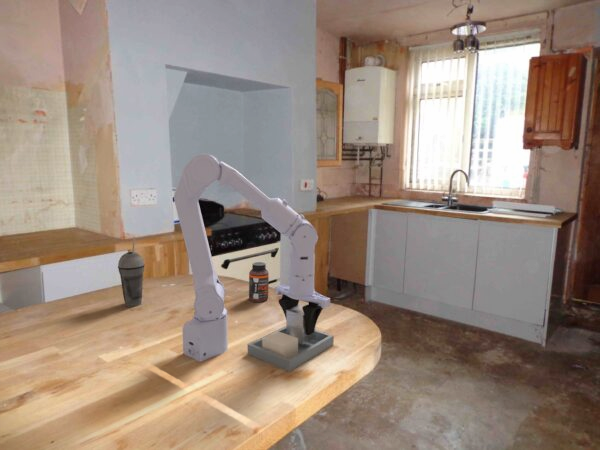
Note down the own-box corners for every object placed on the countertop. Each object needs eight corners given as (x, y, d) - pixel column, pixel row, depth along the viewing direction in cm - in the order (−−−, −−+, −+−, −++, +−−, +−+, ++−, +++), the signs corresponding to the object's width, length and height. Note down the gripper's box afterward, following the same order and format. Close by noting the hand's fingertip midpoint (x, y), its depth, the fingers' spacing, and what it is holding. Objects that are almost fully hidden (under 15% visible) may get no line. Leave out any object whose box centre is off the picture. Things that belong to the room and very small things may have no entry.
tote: (289, 375, 86) (289, 361, 86) (247, 357, 94) (247, 344, 93) (333, 347, 99) (333, 335, 98) (293, 333, 106) (293, 322, 106)
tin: (302, 344, 95) (303, 315, 94) (286, 338, 98) (286, 309, 97) (315, 337, 99) (315, 309, 98) (299, 332, 102) (299, 304, 101)
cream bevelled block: (283, 364, 89) (283, 346, 89) (262, 355, 93) (262, 338, 92) (297, 355, 93) (298, 338, 92) (277, 347, 97) (277, 330, 96)
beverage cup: (119, 301, 126) (115, 235, 123) (145, 298, 130) (142, 234, 126) (120, 309, 120) (116, 240, 117) (147, 306, 123) (144, 238, 120)
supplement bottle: (259, 304, 126) (259, 267, 124) (244, 299, 130) (244, 263, 128) (272, 298, 131) (272, 263, 129) (258, 294, 134) (258, 260, 133)
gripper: (338, 275, 94) (336, 333, 97) (288, 264, 103) (288, 317, 106) (320, 283, 89) (318, 343, 91) (268, 270, 98) (268, 326, 100)
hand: (300, 330), depth 98 cm, fingers closed on tin, 5 cm apart
